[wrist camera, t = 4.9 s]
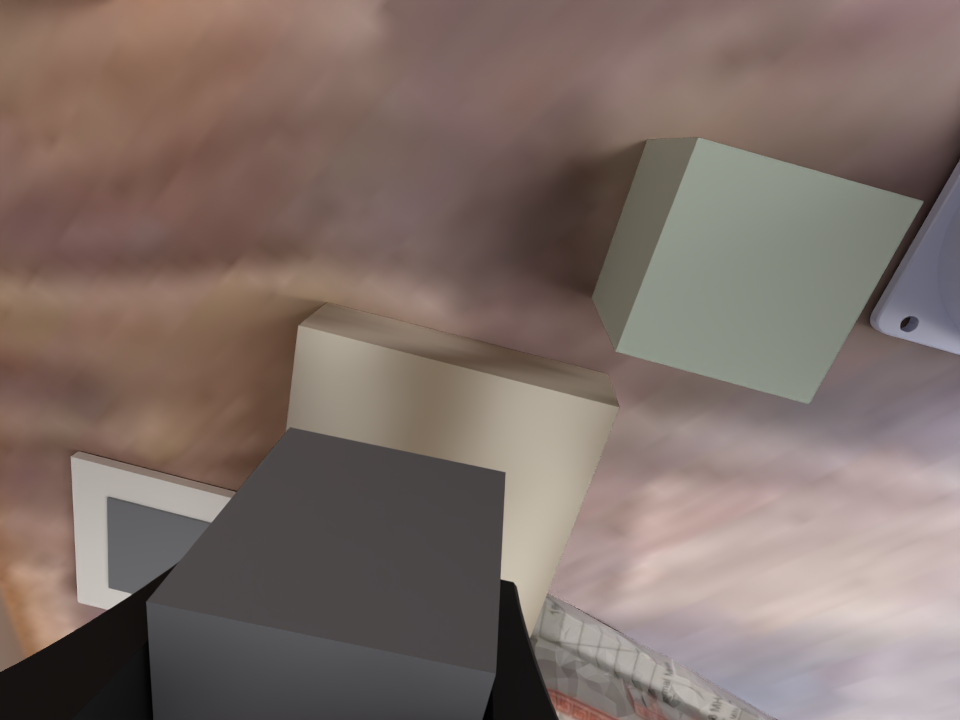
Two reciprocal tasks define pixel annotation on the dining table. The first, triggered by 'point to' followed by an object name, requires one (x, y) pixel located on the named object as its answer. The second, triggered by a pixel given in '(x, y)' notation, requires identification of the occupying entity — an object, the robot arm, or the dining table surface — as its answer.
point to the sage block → (744, 264)
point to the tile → (133, 525)
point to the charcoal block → (336, 591)
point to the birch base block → (463, 420)
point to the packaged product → (620, 675)
